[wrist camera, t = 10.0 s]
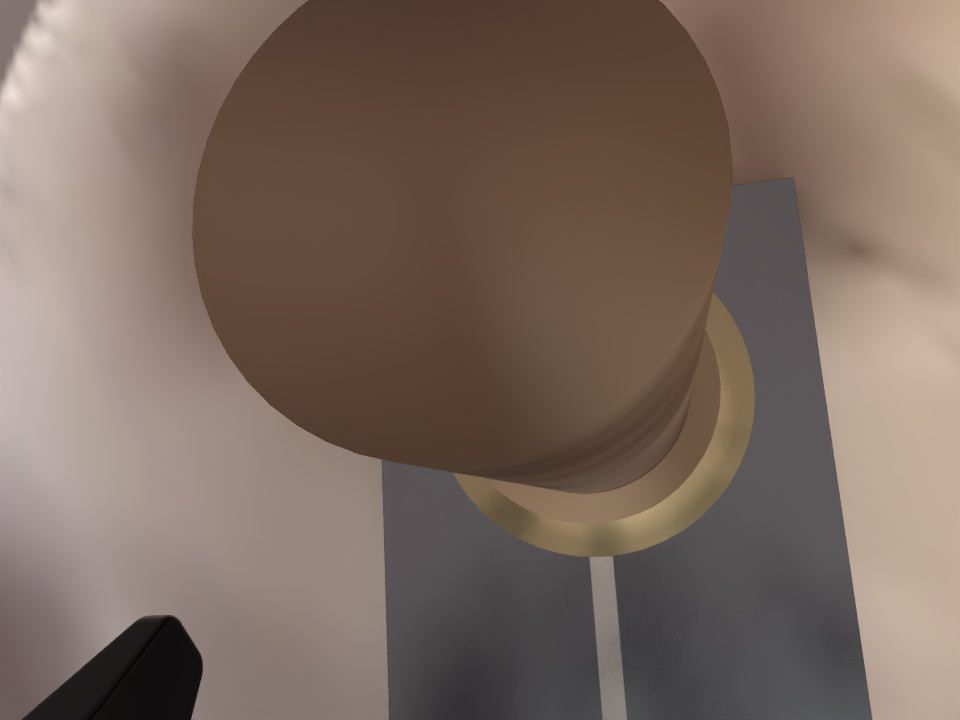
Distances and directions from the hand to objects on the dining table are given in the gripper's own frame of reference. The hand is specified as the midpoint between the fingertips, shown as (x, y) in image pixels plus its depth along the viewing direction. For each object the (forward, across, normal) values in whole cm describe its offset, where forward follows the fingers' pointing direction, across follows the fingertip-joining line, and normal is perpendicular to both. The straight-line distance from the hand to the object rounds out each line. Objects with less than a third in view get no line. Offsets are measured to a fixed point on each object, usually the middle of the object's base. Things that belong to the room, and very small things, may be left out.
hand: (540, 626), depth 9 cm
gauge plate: (+6, 0, +6) cm, 9 cm away
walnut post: (+9, 0, +3) cm, 9 cm away
